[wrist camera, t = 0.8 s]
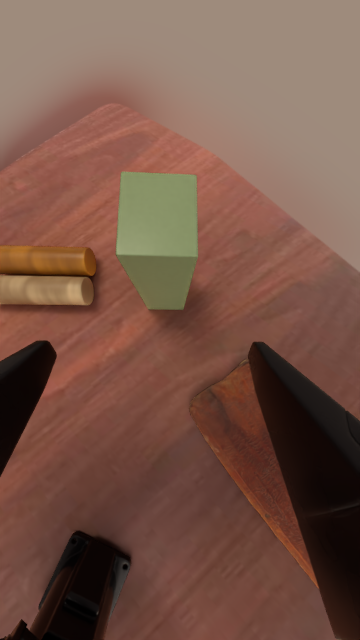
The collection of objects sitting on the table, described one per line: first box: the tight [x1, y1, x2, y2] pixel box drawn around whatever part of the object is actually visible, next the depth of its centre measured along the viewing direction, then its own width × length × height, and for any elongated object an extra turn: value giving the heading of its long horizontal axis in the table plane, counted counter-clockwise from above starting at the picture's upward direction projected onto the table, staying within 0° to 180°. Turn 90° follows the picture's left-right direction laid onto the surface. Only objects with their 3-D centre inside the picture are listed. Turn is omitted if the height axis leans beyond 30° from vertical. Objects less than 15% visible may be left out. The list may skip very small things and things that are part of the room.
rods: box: [0, 245, 96, 305], centre depth 21 cm, size 7×11×3 cm, turn 90°
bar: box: [116, 172, 198, 310], centre depth 16 cm, size 5×4×13 cm
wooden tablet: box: [189, 359, 319, 588], centre depth 19 cm, size 27×10×2 cm, turn 37°
